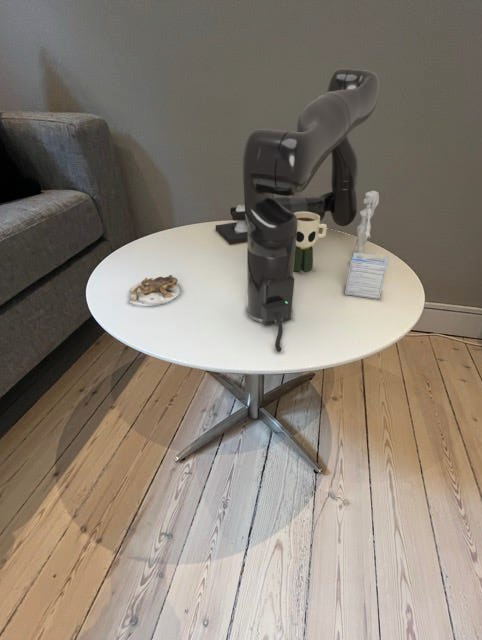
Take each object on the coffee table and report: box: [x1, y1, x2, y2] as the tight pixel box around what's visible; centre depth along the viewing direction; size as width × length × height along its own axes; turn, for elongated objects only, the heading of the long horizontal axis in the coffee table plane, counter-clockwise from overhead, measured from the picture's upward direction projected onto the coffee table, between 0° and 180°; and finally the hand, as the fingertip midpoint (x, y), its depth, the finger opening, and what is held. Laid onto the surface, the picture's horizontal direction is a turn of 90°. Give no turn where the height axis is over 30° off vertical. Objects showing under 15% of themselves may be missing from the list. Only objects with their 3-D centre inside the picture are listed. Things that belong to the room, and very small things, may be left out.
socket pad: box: [215, 221, 247, 245], centre depth 115 cm, size 12×12×2 cm
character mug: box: [293, 212, 328, 273], centre depth 95 cm, size 11×7×13 cm, turn 94°
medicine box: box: [344, 251, 389, 300], centre depth 87 cm, size 8×4×9 cm, turn 74°
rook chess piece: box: [235, 204, 247, 233], centre depth 113 cm, size 4×4×8 cm
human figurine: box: [349, 190, 380, 264], centre depth 96 cm, size 12×4×18 cm, turn 173°
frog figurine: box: [128, 274, 182, 307], centre depth 87 cm, size 12×12×4 cm
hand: (231, 213), depth 112 cm, fingers closed on rook chess piece, 3 cm apart
